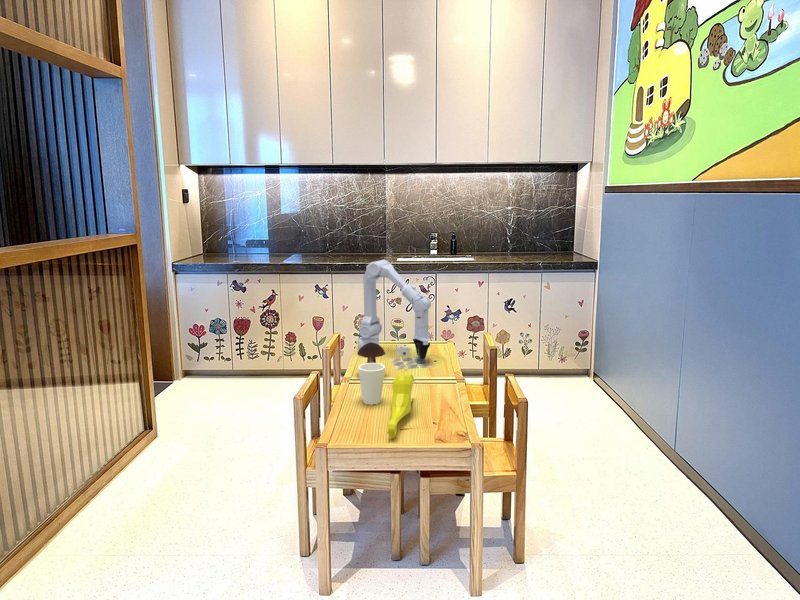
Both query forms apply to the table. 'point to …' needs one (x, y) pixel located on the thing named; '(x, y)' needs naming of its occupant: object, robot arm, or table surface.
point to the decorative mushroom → (371, 352)
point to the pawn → (420, 359)
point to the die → (403, 350)
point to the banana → (400, 400)
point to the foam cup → (371, 382)
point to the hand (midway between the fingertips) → (421, 356)
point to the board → (408, 363)
